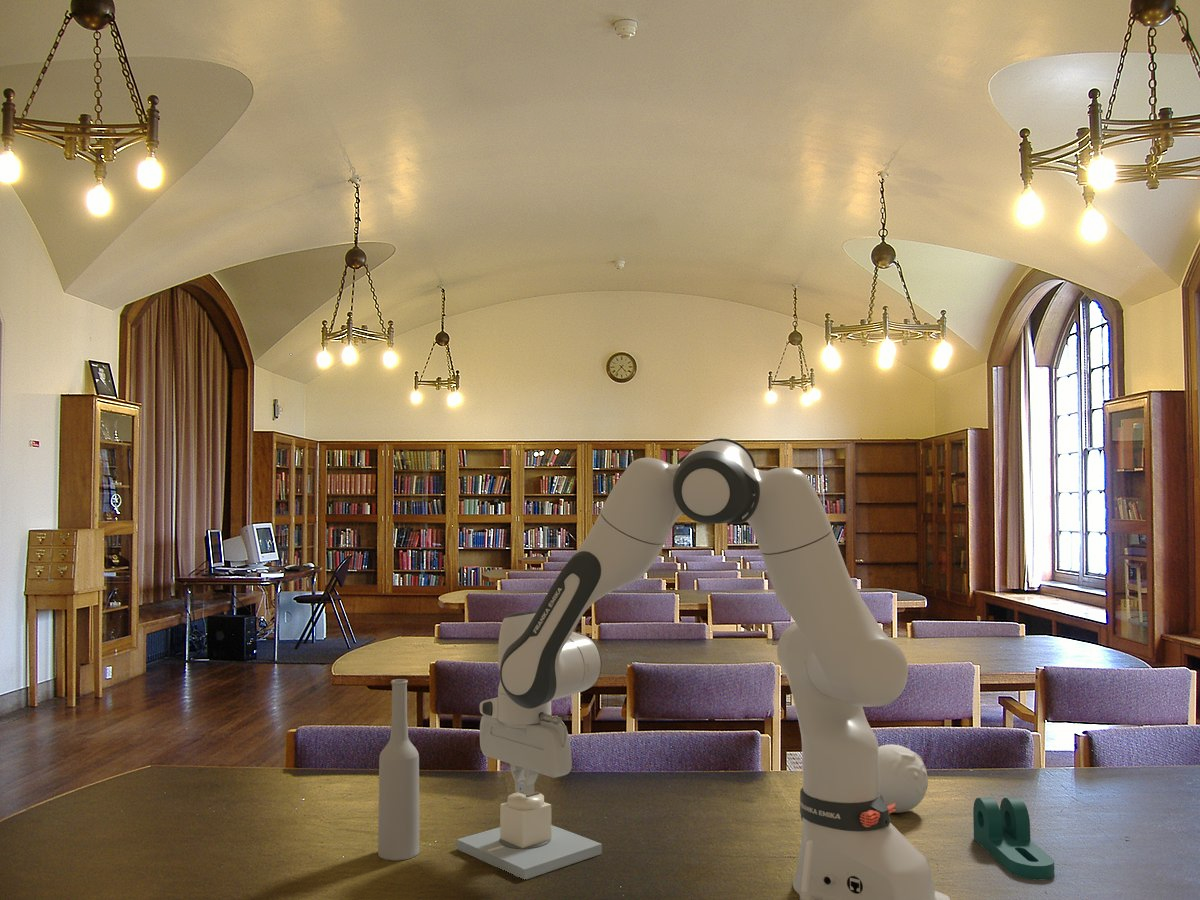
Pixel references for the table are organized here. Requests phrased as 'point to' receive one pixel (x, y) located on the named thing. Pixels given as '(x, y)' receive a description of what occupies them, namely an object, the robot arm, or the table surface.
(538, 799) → the knob
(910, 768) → the decorative ball
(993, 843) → the bracket
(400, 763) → the bottle
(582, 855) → the panel
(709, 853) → the table surface
